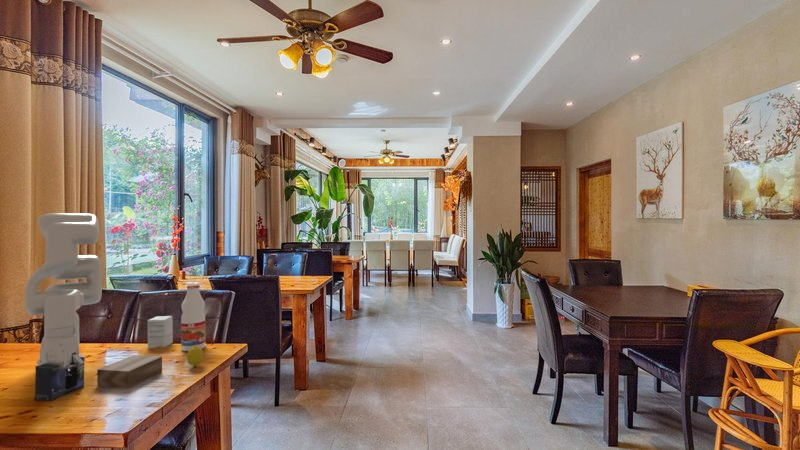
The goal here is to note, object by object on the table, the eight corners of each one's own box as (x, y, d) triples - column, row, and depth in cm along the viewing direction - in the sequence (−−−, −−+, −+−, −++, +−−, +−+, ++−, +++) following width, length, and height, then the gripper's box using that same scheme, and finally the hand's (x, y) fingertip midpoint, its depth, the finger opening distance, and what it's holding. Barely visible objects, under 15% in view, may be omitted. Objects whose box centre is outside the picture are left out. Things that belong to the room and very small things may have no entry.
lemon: (206, 365, 142) (206, 344, 142) (194, 370, 136) (194, 348, 137) (196, 363, 144) (195, 343, 144) (183, 368, 138) (183, 347, 138)
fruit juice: (208, 344, 168) (207, 283, 168) (202, 350, 158) (201, 286, 159) (185, 345, 165) (185, 284, 166) (177, 352, 156) (177, 287, 157)
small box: (49, 402, 112) (49, 368, 112) (33, 400, 114) (33, 366, 114) (85, 387, 123) (85, 356, 123) (70, 386, 124) (70, 354, 124)
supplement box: (156, 343, 170) (156, 316, 170) (173, 342, 170) (173, 315, 171) (147, 348, 162) (146, 320, 163) (164, 347, 163) (164, 319, 163)
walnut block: (97, 387, 123) (97, 369, 123) (133, 371, 137) (133, 355, 137) (128, 389, 121) (128, 371, 121) (162, 372, 135) (162, 356, 135)
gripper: (24, 334, 116) (24, 390, 116) (72, 335, 113) (72, 393, 113) (50, 327, 123) (50, 380, 123) (95, 329, 121) (95, 383, 121)
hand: (60, 386), depth 118 cm, fingers open, 7 cm apart
